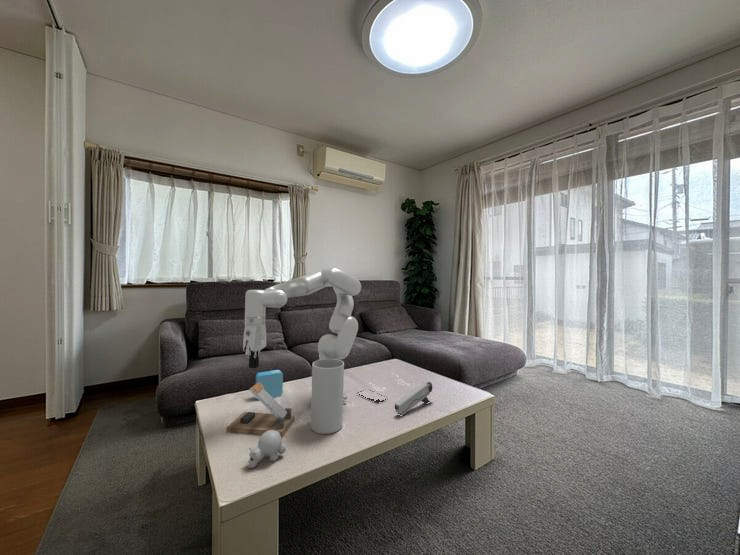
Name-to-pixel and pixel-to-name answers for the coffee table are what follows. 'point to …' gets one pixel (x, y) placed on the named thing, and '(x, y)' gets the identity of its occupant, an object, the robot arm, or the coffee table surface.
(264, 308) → the robot arm
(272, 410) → the latch lever
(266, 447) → the chubby cartoon animal
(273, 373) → the blue rounded block
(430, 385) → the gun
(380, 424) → the coffee table surface
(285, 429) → the latch base
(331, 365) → the cylinder vase
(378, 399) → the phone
